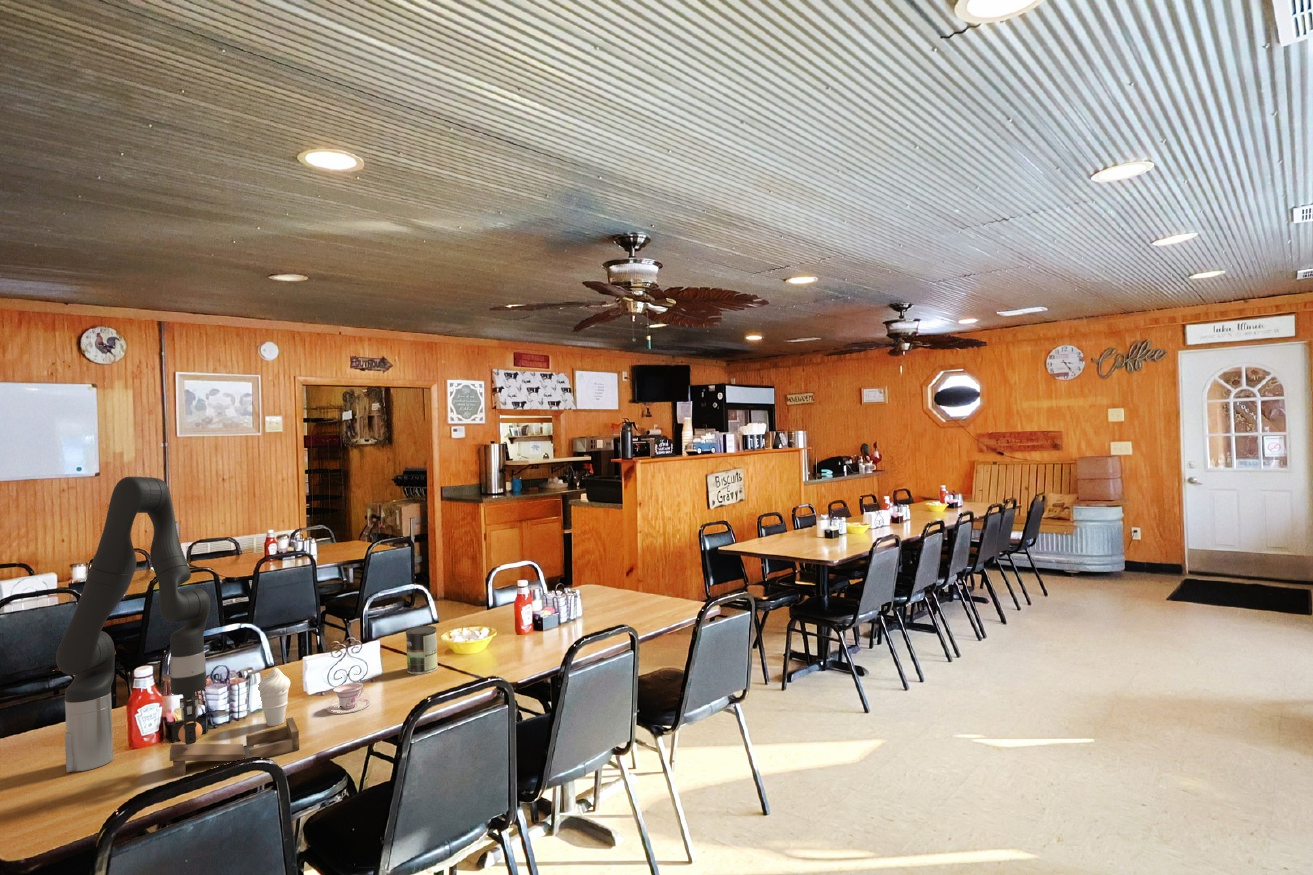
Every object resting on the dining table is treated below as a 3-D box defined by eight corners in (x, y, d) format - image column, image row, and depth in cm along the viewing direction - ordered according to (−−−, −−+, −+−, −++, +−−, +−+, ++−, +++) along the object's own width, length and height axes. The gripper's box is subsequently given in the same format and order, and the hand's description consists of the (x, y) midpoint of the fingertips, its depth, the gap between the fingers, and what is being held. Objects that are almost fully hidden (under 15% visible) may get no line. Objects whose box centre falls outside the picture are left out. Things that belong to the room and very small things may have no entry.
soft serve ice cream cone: (252, 726, 206) (250, 670, 207) (279, 716, 214) (277, 661, 214) (271, 730, 203) (269, 673, 203) (298, 720, 210) (296, 664, 210)
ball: (202, 742, 180) (202, 722, 180) (178, 748, 177) (178, 727, 177) (202, 736, 184) (201, 716, 184) (178, 741, 181) (178, 721, 181)
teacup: (340, 717, 211) (339, 696, 211) (319, 709, 218) (318, 689, 218) (378, 705, 220) (377, 684, 220) (357, 697, 228) (356, 678, 228)
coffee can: (409, 676, 247) (407, 634, 247) (405, 668, 256) (404, 628, 256) (440, 671, 251) (438, 630, 251) (435, 663, 261) (434, 624, 261)
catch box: (246, 762, 182) (245, 742, 182) (243, 747, 192) (242, 728, 192) (299, 749, 188) (298, 730, 189) (293, 735, 199) (292, 717, 199)
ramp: (170, 778, 175) (169, 754, 175) (170, 766, 182) (169, 744, 182) (245, 760, 184) (244, 737, 184) (243, 749, 190) (242, 728, 190)
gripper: (206, 675, 177) (209, 745, 177) (205, 661, 189) (207, 727, 189) (169, 681, 173) (172, 753, 173) (170, 667, 185) (172, 734, 185)
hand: (190, 739), depth 181 cm, fingers closed on ball, 4 cm apart
